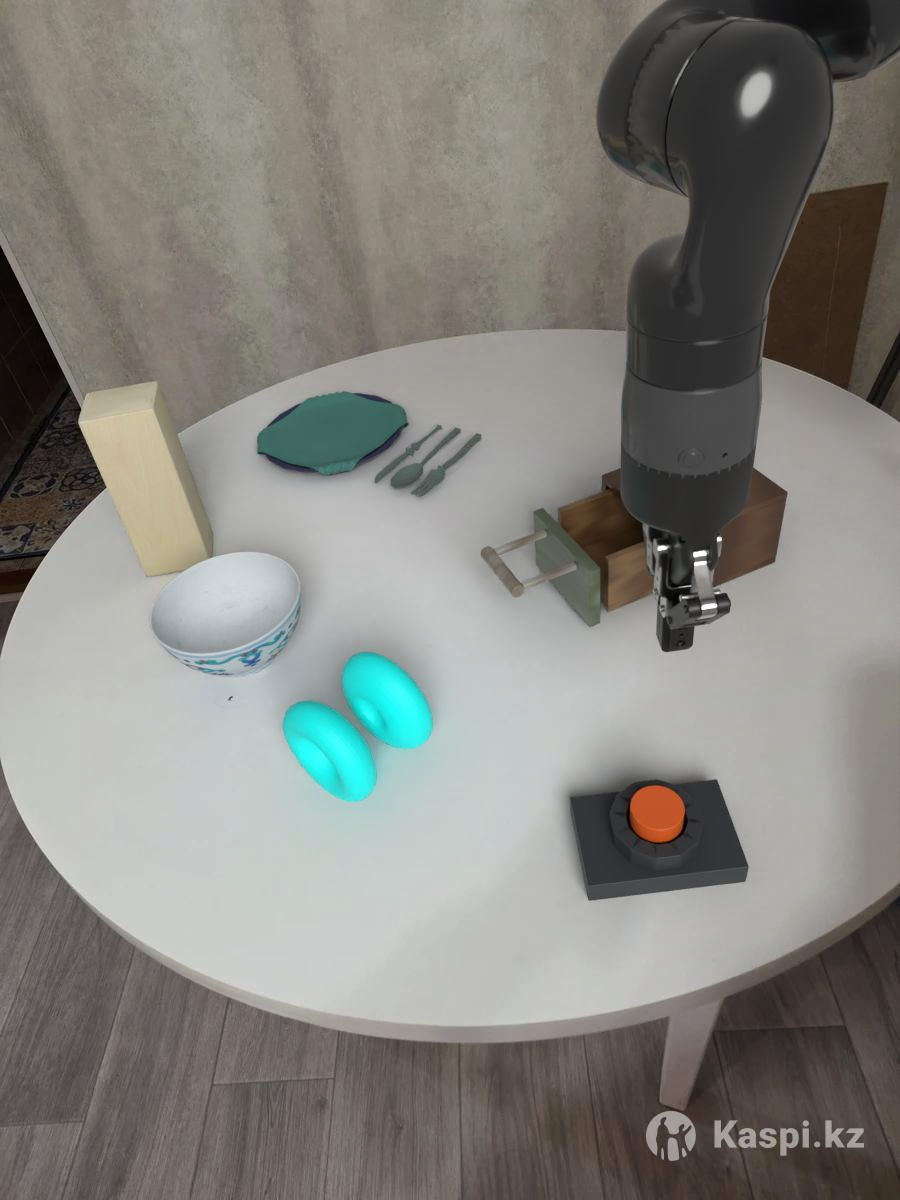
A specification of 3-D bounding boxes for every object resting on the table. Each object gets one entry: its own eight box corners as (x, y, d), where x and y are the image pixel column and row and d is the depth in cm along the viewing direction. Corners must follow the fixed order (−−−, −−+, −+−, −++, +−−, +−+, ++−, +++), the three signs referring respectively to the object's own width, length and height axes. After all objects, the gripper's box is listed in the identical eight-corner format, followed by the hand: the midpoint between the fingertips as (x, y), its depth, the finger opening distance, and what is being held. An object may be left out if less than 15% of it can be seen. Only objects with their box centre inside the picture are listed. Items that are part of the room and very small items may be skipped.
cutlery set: (327, 393, 131) (324, 379, 129) (494, 437, 116) (492, 423, 114) (234, 460, 119) (229, 446, 118) (405, 518, 105) (402, 503, 103)
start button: (675, 795, 68) (676, 782, 67) (689, 839, 65) (691, 826, 64) (624, 801, 68) (625, 788, 67) (636, 846, 65) (636, 833, 64)
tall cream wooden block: (215, 529, 108) (158, 376, 94) (213, 565, 102) (152, 408, 88) (152, 541, 107) (85, 389, 93) (146, 578, 102) (74, 423, 88)
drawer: (526, 653, 85) (521, 599, 80) (476, 587, 93) (469, 534, 88) (695, 584, 89) (701, 528, 84) (634, 526, 97) (636, 472, 92)
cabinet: (666, 607, 88) (671, 537, 82) (601, 541, 97) (601, 474, 91) (775, 562, 92) (788, 492, 85) (702, 502, 100) (709, 435, 94)
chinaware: (346, 645, 90) (330, 589, 85) (227, 733, 83) (202, 678, 77) (262, 586, 98) (243, 533, 93) (148, 662, 91) (121, 608, 86)
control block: (714, 794, 72) (719, 765, 69) (745, 882, 66) (752, 853, 63) (570, 812, 72) (569, 784, 69) (588, 901, 66) (588, 874, 63)
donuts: (291, 769, 78) (263, 697, 72) (369, 702, 84) (350, 628, 77) (367, 828, 73) (344, 755, 66) (446, 751, 78) (431, 676, 71)
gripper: (798, 488, 44) (759, 707, 56) (717, 366, 54) (699, 574, 66) (651, 510, 44) (644, 723, 56) (598, 385, 54) (601, 589, 66)
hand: (673, 643), depth 61 cm, fingers closed
